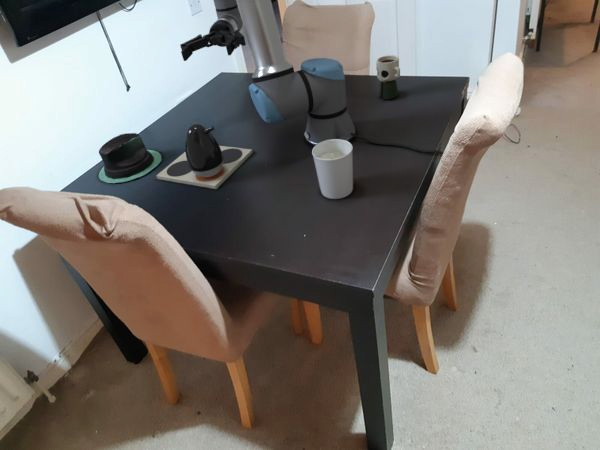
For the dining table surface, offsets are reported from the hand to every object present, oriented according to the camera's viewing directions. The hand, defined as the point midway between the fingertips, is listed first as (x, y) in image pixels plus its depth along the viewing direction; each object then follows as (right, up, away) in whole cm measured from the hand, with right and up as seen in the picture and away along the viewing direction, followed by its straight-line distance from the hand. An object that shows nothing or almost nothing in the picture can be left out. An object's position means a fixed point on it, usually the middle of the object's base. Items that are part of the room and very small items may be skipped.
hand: (205, 53), depth 126 cm
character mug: (+58, -5, +25) cm, 63 cm away
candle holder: (+37, -41, -13) cm, 56 cm away
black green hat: (-27, -31, +14) cm, 43 cm away
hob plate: (-1, -31, +7) cm, 32 cm away
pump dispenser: (+1, -34, +1) cm, 34 cm away
